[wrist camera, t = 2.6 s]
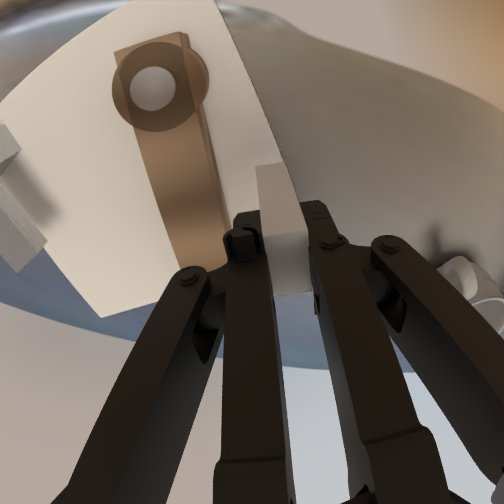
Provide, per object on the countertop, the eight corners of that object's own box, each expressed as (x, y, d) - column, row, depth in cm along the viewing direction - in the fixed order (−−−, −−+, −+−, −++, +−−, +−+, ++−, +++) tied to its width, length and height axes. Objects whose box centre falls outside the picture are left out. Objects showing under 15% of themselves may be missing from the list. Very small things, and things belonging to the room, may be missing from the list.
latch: (120, 55, 17) (96, 57, 14) (200, 31, 16) (189, 26, 13) (193, 292, 29) (188, 323, 26) (254, 284, 28) (255, 316, 25)
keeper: (14, 119, 20) (-40, 148, 14) (78, 205, 25) (38, 253, 19) (-5, 146, 21) (-56, 179, 15) (54, 225, 26) (16, 273, 20)
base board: (200, -27, 15) (197, -32, 14) (312, 242, 28) (315, 251, 27) (-16, 127, 20) (-26, 132, 19) (104, 308, 33) (100, 317, 32)
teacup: (469, 304, 34) (495, 350, 27) (397, 328, 35) (417, 381, 29) (486, 213, 26) (530, 258, 19) (400, 235, 28) (436, 292, 21)
